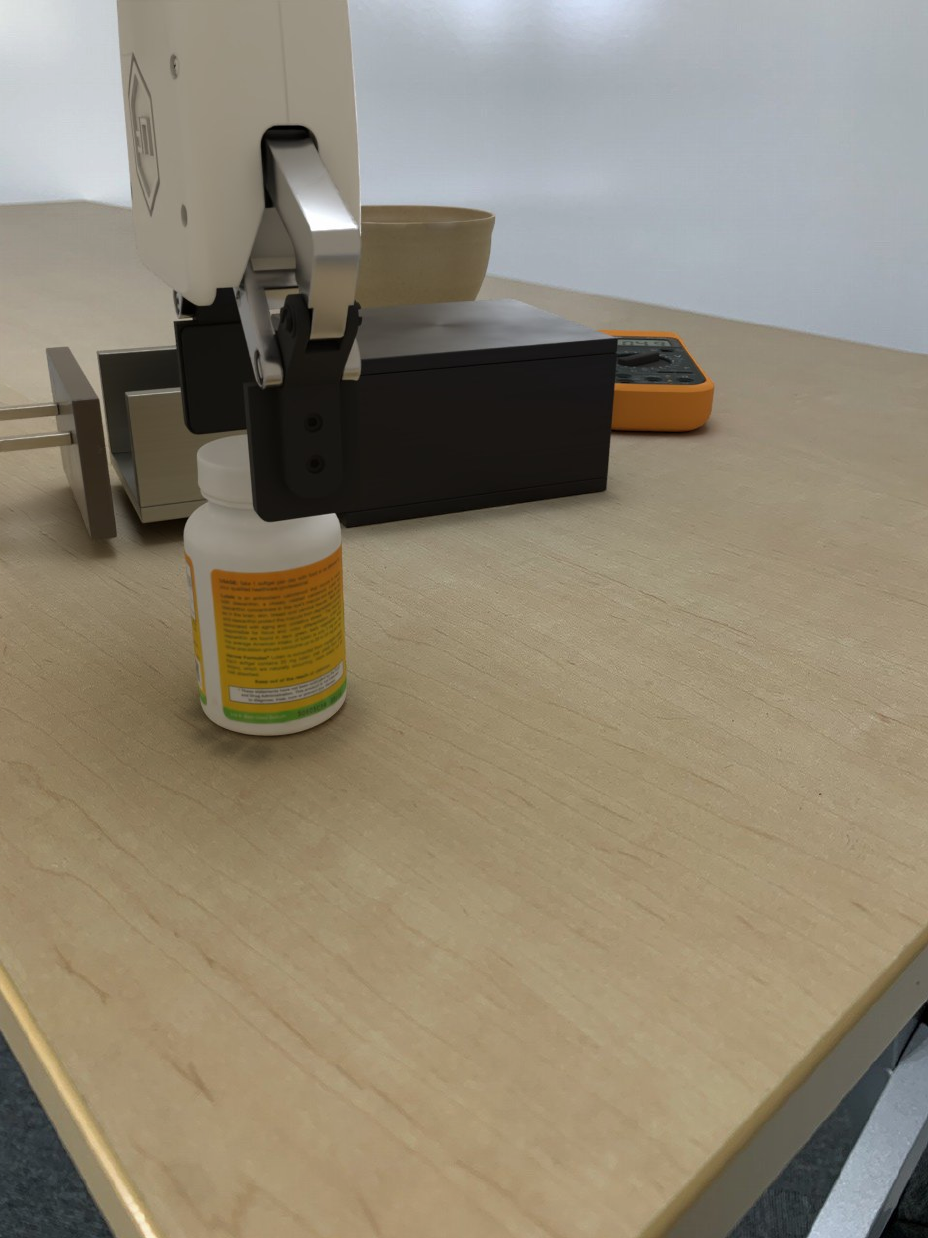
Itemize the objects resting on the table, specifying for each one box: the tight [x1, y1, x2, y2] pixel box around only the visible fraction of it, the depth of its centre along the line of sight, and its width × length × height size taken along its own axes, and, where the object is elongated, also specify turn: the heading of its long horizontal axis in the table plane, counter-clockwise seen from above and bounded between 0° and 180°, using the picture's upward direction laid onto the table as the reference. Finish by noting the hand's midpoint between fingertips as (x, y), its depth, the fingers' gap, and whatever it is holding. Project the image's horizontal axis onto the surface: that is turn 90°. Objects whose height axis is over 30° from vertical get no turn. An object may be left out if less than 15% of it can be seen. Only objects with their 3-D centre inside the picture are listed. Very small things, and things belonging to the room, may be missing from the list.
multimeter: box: [596, 329, 715, 433], centre depth 80 cm, size 9×18×3 cm, turn 179°
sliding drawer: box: [0, 344, 247, 542], centre depth 57 cm, size 20×11×7 cm, turn 114°
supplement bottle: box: [183, 434, 348, 736], centre depth 39 cm, size 5×5×10 cm
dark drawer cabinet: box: [270, 297, 618, 528], centre depth 63 cm, size 16×13×9 cm
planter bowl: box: [355, 204, 496, 308], centre depth 94 cm, size 16×16×11 cm
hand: (265, 466), depth 37 cm, fingers open, 9 cm apart
